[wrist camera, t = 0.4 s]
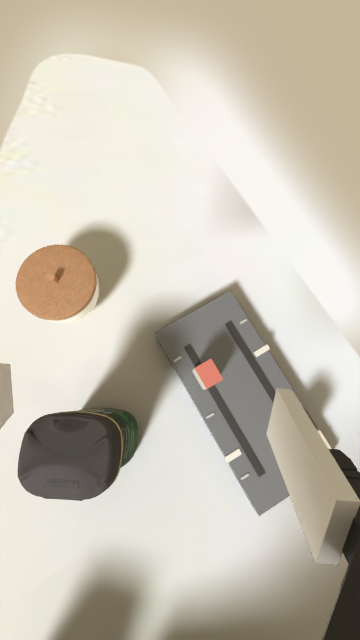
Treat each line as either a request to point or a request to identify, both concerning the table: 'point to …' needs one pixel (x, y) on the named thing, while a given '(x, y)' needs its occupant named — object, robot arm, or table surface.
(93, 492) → the coffee jar
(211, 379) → the block
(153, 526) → the table surface
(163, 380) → the table surface
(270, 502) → the console
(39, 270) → the lidded jar
